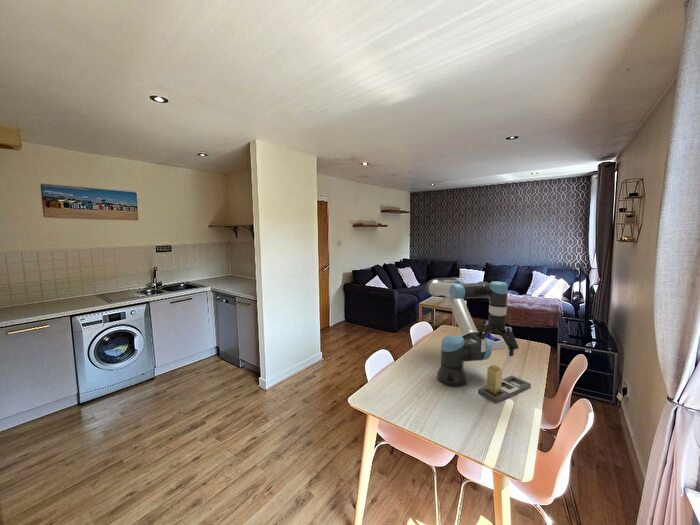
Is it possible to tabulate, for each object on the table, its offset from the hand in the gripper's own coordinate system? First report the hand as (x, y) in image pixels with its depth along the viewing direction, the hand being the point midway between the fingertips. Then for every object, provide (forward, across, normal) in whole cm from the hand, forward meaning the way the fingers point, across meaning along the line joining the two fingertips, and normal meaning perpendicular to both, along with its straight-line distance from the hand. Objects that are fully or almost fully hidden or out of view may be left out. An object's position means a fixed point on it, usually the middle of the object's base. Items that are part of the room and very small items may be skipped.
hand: (495, 356), depth 142 cm
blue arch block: (+20, +42, -57) cm, 74 cm away
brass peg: (+20, 0, 0) cm, 20 cm away
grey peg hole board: (+20, 0, -9) cm, 22 cm away
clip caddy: (+20, +43, -57) cm, 74 cm away
